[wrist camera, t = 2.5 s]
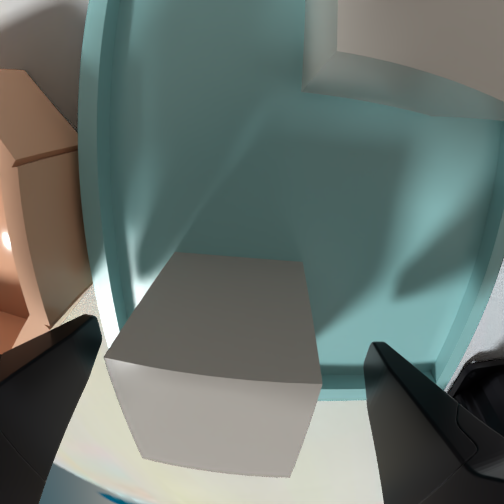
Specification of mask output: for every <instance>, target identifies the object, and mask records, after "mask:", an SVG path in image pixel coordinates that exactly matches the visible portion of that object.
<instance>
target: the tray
mask: <svg viewBox="0 0 504 504" xmlns="http://www.w3.org/2000/svg"><path fill="white" fill-rule="evenodd" d="M304 25H305V0H89V4H88V10H87V16H86V22H85V29H84V36H83V44H82V53H81V64H80V77H79V94H78V160H79V179H80V192H81V203H82V213H83V222H84V230H85V237H86V244H87V251H88V257H89V263H90V269H91V275H92V280H93V285H94V290H95V295H96V300H97V304H98V309H99V313H100V318H101V322H102V326H103V330H104V334H105V338H106V341H107V345H108V349H109V348H110V346H111V345H112V343H113V342H114V340H115V338H116V337H117V335H118V334H119V332H120V331H121V329H122V328H123V326H124V325H125V323H126V322H127V320H128V319H129V317H130V316H131V314H132V313H133V311H134V310H135V308H136V307H137V305H138V304H139V302H140V301H141V299H142V298H143V296H144V295H145V293H146V292H147V290H148V289H149V288H150V286H151V285H152V283H153V282H154V280H155V279H156V277H157V276H158V275H159V273H160V272H161V270H162V269H163V268H164V266H165V265H166V263H167V262H168V261H169V259H170V258H171V256H172V255H173V254H174V252H183V253H195V254H208V255H220V256H233V257H246V258H259V259H271V260H284V261H298V262H303V267H304V272H305V278H306V283H307V289H308V294H309V300H310V306H311V312H312V318H313V324H314V330H315V337H316V343H317V349H318V356H319V363H320V370H321V376H322V387H321V391H320V394H319V397H318V400H317V401H348V400H366V389H365V379H364V370H363V365H364V360H365V357H366V355H367V352H368V349H369V346H370V344H371V343H372V342H374V341H383V342H385V343H387V344H388V345H389V346H390V347H392V348H393V349H394V350H395V351H397V352H398V353H399V354H400V355H401V356H403V357H404V358H405V359H406V360H407V361H409V362H410V363H411V364H412V365H414V366H415V367H416V368H417V369H418V370H420V371H421V372H422V373H423V374H424V375H426V376H427V377H428V378H429V379H430V380H432V381H433V382H434V383H435V384H436V385H438V386H439V387H440V388H441V389H442V390H444V389H445V388H446V386H447V384H448V383H449V381H450V379H451V377H452V376H453V374H454V372H455V370H456V368H457V367H458V365H459V363H460V361H461V359H462V357H463V355H464V353H465V351H466V349H467V347H468V345H469V343H470V341H471V339H472V337H473V335H474V333H475V331H476V328H477V326H478V324H479V322H480V320H481V317H482V315H483V313H484V310H485V308H486V305H487V303H488V300H489V298H490V295H491V293H492V290H493V287H494V285H495V282H496V279H497V276H498V273H499V270H500V267H501V264H502V261H503V258H504V121H498V120H488V119H476V118H460V117H437V116H428V115H425V114H421V113H417V112H413V111H409V110H405V109H400V108H396V107H392V106H387V105H382V104H377V103H372V102H367V101H361V100H355V99H349V98H343V97H336V96H329V95H322V94H313V93H304V92H301V85H302V68H303V48H304Z"/></svg>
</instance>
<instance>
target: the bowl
mask: <svg viewBox="0 0 504 504" xmlns="http://www.w3.org/2000/svg"><path fill="white" fill-rule="evenodd" d="M92 285H93V280H92V275H91V269H90V263H89V257H88V251H87V244H86V237H85V230H84V222H83V213H82V203H81V192H80V179H79V160H78V133H77V132H76V131H75V130H74V128H73V127H72V126H71V125H70V124H69V123H68V122H67V120H66V119H65V118H64V117H63V116H62V115H61V113H60V112H59V111H58V110H57V109H56V108H55V106H54V105H53V104H52V103H51V102H50V100H49V99H48V98H47V97H46V96H45V94H44V93H43V92H42V91H41V90H40V88H39V87H38V86H37V85H36V84H35V82H34V81H33V80H32V79H31V77H30V76H29V75H28V74H27V72H26V71H24V70H17V69H0V354H3V353H4V352H6V351H8V350H10V349H12V348H14V347H16V346H19V345H21V344H23V343H25V342H27V341H29V340H31V339H33V338H35V337H37V336H39V335H41V334H44V333H46V332H48V331H50V330H52V329H54V328H56V327H58V326H60V325H61V324H62V323H63V321H64V320H65V319H66V318H67V316H68V315H69V314H70V312H71V311H72V310H73V309H74V307H75V306H76V305H77V304H78V302H79V301H80V300H81V299H82V297H83V296H84V295H85V294H86V293H87V291H88V290H89V289H90V288H91V287H92Z"/></svg>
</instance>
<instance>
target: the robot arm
mask: <svg viewBox="0 0 504 504" xmlns="http://www.w3.org/2000/svg"><path fill="white" fill-rule="evenodd" d="M101 342H102V335H101V331H100V327H99V323H98V320H97V318H96V317H95V316H93V315H88V314H84V315H82V316H79V317H77V318H75V319H73V320H71V321H69V322H67V323H65V324H62V325H60V326H58V327H56V328H54V329H52V330H50V331H48V332H46V333H44V334H41V335H39V336H37V337H35V338H33V339H31V340H29V341H27V342H25V343H23V344H21V345H19V346H16V347H14V348H12V349H10V350H8V351H6V352H4V353H3V354H0V504H39V501H40V498H41V494H42V492H43V489H44V486H45V483H46V480H47V477H48V474H49V472H50V469H51V466H52V464H53V461H54V458H55V456H56V453H57V451H58V448H59V446H60V443H61V441H62V438H63V436H64V433H65V431H66V429H67V426H68V424H69V422H70V419H71V417H72V415H73V412H74V410H75V408H76V406H77V403H78V401H79V399H80V397H81V395H82V392H83V390H84V388H85V386H86V384H87V381H88V379H89V376H90V374H91V371H92V368H93V365H94V362H95V359H96V356H97V354H98V351H99V348H100V345H101ZM363 370H364V379H365V389H366V400H367V409H368V415H369V420H370V425H371V430H372V435H373V440H374V446H375V451H376V456H377V462H378V468H379V474H380V480H381V486H382V493H383V500H384V504H504V359H499V360H492V361H485V362H478V363H472V364H469V365H468V366H466V367H465V368H464V369H463V370H462V372H461V374H460V375H459V377H458V379H457V381H456V382H455V384H454V386H453V387H452V389H451V391H450V392H449V394H447V393H446V392H445V391H444V390H442V389H441V388H440V387H439V386H438V385H436V384H435V383H434V382H433V381H432V380H430V379H429V378H428V377H427V376H426V375H424V374H423V373H422V372H421V371H420V370H418V369H417V368H416V367H415V366H414V365H412V364H411V363H410V362H409V361H407V360H406V359H405V358H404V357H403V356H401V355H400V354H399V353H398V352H397V351H395V350H394V349H393V348H392V347H390V346H389V345H388V344H387V343H385V342H383V341H374V342H372V343H371V344H370V346H369V349H368V352H367V355H366V357H365V360H364V365H363Z"/></svg>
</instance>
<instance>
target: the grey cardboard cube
mask: <svg viewBox="0 0 504 504" xmlns="http://www.w3.org/2000/svg"><path fill="white" fill-rule="evenodd" d="M301 92H304V93H313V94H322V95H329V96H336V97H343V98H349V99H355V100H361V101H367V102H372V103H377V104H382V105H387V106H392V107H396V108H400V109H405V110H409V111H413V112H417V113H421V114H425V115H428V116H437V117H460V118H476V119H488V120H498V121H504V0H305V25H304V48H303V68H302V85H301Z"/></svg>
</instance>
